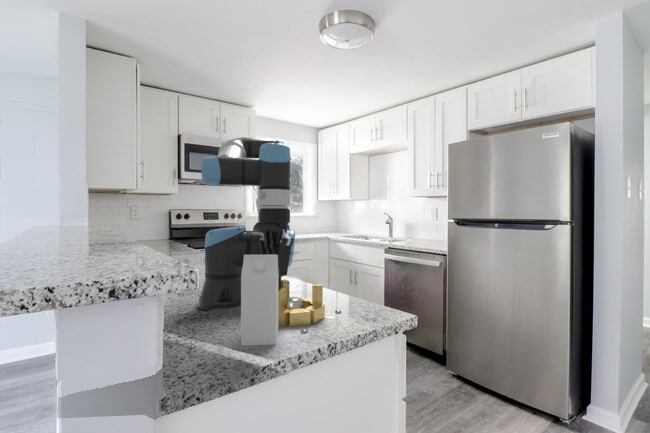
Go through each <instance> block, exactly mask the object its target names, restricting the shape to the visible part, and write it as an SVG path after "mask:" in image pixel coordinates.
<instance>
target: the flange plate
mask: <svg viewBox="0 0 650 433" xmlns="http://www.w3.org/2000/svg"><path fill="white" fill-rule="evenodd" d="M290 297H291V298H287V304H286V309H289V310H292V309H302V298H300V297H299V296H290ZM334 312H335V314H341V313H342V310H341V309H335V311H334ZM325 318H326V319H335V316H326V315H325V316H324V318H323V319H325ZM300 333H301V334H308V333H309V329H308V328H302V329H300Z"/></svg>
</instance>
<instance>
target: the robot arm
mask: <svg viewBox="0 0 650 433" xmlns="http://www.w3.org/2000/svg"><path fill="white" fill-rule="evenodd" d="M291 160H292V157H291V147H290V146H289V145H288V144H287V142H286V141H285V140H284V139H281V138H276V137H275V138H274V137H273V138H266V137H237V138H233V139H230V140H228V141H225V142H224V143H222V145H221V146H220V147H219V149H218V152H217V155H216V156H215V155H212V156H204V157H203V158H202V159H201V163H200V164H201V166H200V168H201V171H200V172H201V180H202V182H203V183H204V184H205V185H206V186H215V187H218V186H240V187H241V186H244V187H247V186H248V187H257V222H255V224H254V225H253V227H252V230H247V227H246V226H245V225H238V226H237V225H236V226H229V227H222V228H217V229H215V228H214V229H211V230H208V231H207V232H206V234H205V237H204V238H205V241H204V282H203V286H202V289H201V292H200V296H199V297H198V308H199V309H200V310H203V311H207V312H210V311H213V310H215V309H224V308H225V309H226V308H228V309H229V308H235V307H241V274H242V267H243V261H244V255H278V270H279V273H278V290H279V289H281V280H282V277H284V276H288V270H289V267H291V266H292V264H293V259H294V252H295V242H296V240H295V239H296V231H295V230H293V229H290V228H291V226H290V225H289V224H290V223H291V209H289V207H291Z"/></svg>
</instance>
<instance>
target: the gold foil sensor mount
mask: <svg viewBox="0 0 650 433" xmlns="http://www.w3.org/2000/svg"><path fill="white" fill-rule="evenodd" d="M311 286H312V288H311V290H312V294H311V296H312V297H306V296H300V297H299V298H302V309H292V310H289V309H286V304H287V298H291V297H292V296H290V280H287V279H281V289H279V290H278V326H279V325H280V326H285V327H286V326H288V325H289V327H295V326H305V325H311V324H316V323H317V322H319V321H321V320H323V319H325V318H324V316H325V317H326V315H325V311H326V310H325V307H326V305H325V303H324V302H323V295H324V294H323V288H324V287H323V283H313V284H312V285H311Z"/></svg>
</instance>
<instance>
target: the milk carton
mask: <svg viewBox="0 0 650 433" xmlns="http://www.w3.org/2000/svg"><path fill="white" fill-rule="evenodd" d="M278 273H279V270H278V255H244V261H243V267H242V274H241V306H240V346H265V345H266V346H268V345H271V346H272V345H277V342H278V336H279V325H278Z"/></svg>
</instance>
